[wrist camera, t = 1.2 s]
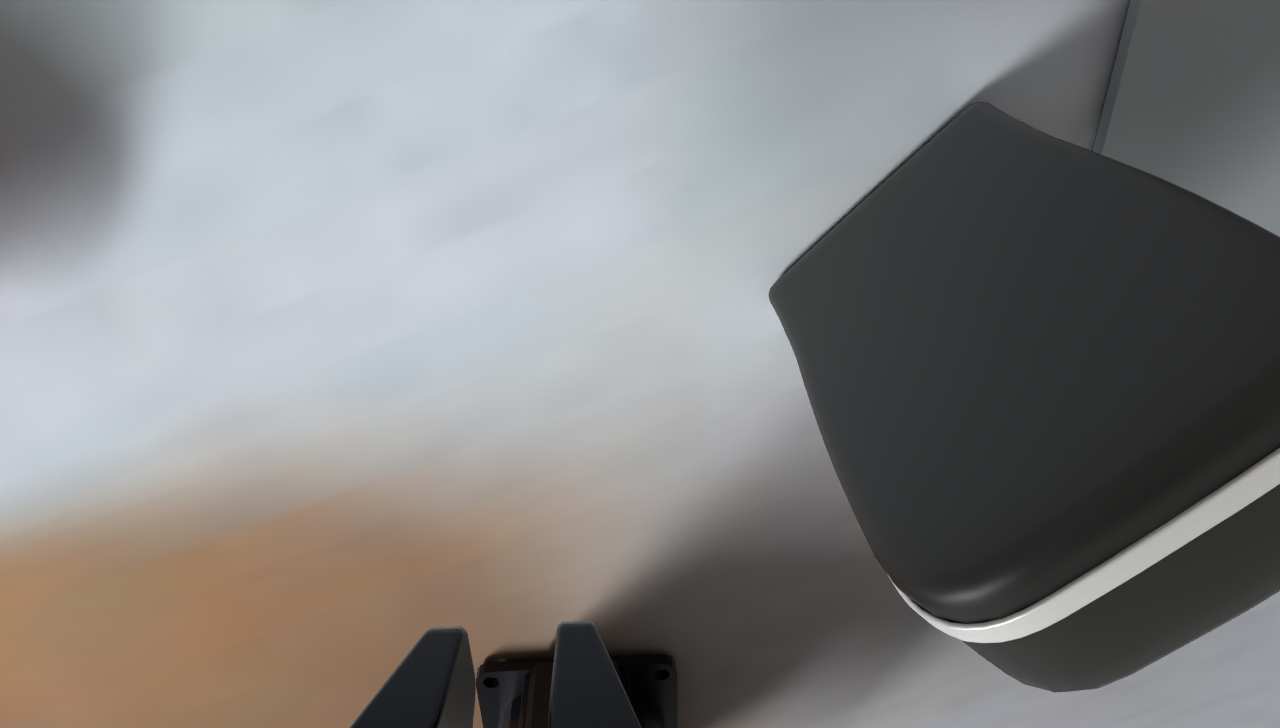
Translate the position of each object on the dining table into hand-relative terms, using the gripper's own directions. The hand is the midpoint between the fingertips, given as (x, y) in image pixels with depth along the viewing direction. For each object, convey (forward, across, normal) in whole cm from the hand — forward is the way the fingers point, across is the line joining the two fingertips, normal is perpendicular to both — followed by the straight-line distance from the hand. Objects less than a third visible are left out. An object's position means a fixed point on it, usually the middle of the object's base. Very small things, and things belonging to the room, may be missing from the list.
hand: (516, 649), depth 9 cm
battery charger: (+12, -8, 0) cm, 15 cm away
